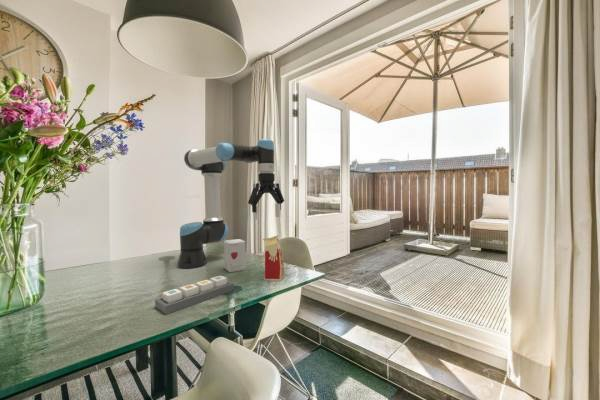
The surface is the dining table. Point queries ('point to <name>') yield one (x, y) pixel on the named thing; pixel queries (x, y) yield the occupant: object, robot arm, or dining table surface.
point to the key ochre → (204, 285)
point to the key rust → (189, 290)
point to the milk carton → (273, 260)
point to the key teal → (172, 295)
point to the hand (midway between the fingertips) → (267, 218)
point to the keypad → (192, 299)
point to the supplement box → (234, 255)
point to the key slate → (219, 281)
